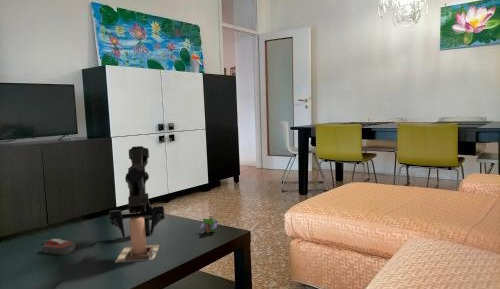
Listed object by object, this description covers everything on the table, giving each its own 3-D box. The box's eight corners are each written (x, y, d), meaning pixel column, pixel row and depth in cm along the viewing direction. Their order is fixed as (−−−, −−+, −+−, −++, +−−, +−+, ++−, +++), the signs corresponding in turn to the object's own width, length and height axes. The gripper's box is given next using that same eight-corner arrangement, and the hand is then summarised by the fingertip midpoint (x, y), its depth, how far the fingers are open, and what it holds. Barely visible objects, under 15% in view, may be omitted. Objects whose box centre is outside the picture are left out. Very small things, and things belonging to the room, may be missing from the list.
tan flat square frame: (124, 250, 140) (124, 247, 140) (160, 247, 141) (159, 244, 141) (114, 266, 125) (114, 262, 125) (153, 263, 127) (153, 259, 126)
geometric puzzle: (213, 232, 150) (216, 213, 154) (197, 231, 151) (200, 213, 155) (218, 237, 156) (220, 219, 160) (202, 237, 157) (205, 219, 161)
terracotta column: (129, 255, 131) (126, 219, 130) (143, 251, 134) (140, 216, 133) (135, 259, 127) (132, 222, 126) (149, 255, 130) (146, 219, 129)
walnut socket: (130, 252, 134) (130, 248, 134) (152, 250, 135) (152, 246, 135) (125, 261, 126) (125, 257, 126) (149, 259, 127) (148, 255, 127)
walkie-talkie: (84, 247, 146) (46, 243, 153) (83, 236, 146) (45, 233, 153) (66, 256, 138) (27, 251, 145) (65, 244, 137) (26, 240, 145)
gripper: (107, 188, 130) (105, 228, 120) (162, 183, 134) (164, 222, 125) (112, 205, 138) (110, 244, 129) (163, 200, 143) (165, 237, 133)
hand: (137, 236), depth 129 cm, fingers open, 9 cm apart
